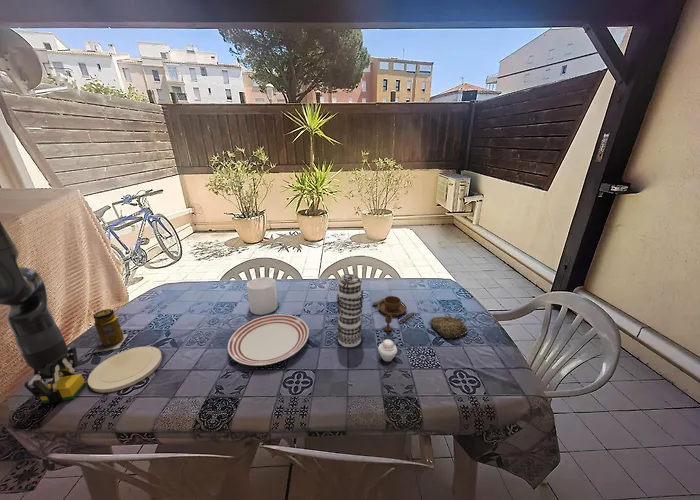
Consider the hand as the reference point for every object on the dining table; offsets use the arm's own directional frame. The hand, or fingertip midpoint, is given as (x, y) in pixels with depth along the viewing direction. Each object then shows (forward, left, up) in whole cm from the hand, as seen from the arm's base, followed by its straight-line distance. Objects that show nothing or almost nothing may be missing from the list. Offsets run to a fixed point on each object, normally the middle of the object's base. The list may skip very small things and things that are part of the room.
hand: (64, 392), depth 76 cm
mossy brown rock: (+122, +4, -1) cm, 122 cm away
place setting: (+102, +19, -1) cm, 104 cm away
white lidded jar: (+93, -6, -1) cm, 93 cm away
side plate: (+12, +7, 0) cm, 14 cm away
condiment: (0, +22, -1) cm, 22 cm away
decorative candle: (+83, +6, -1) cm, 83 cm away
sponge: (0, 0, 0) cm, 0 cm away
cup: (+51, +35, -1) cm, 62 cm away
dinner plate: (+55, +10, -1) cm, 56 cm away
